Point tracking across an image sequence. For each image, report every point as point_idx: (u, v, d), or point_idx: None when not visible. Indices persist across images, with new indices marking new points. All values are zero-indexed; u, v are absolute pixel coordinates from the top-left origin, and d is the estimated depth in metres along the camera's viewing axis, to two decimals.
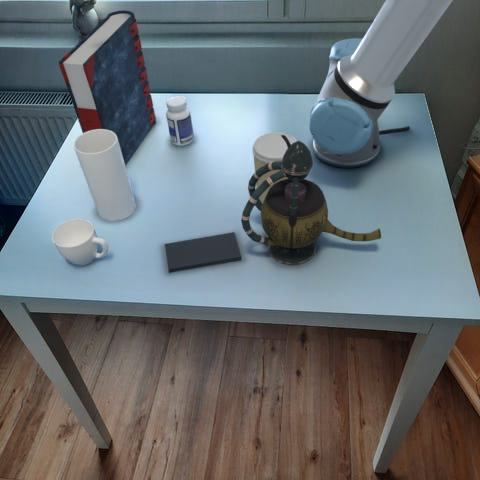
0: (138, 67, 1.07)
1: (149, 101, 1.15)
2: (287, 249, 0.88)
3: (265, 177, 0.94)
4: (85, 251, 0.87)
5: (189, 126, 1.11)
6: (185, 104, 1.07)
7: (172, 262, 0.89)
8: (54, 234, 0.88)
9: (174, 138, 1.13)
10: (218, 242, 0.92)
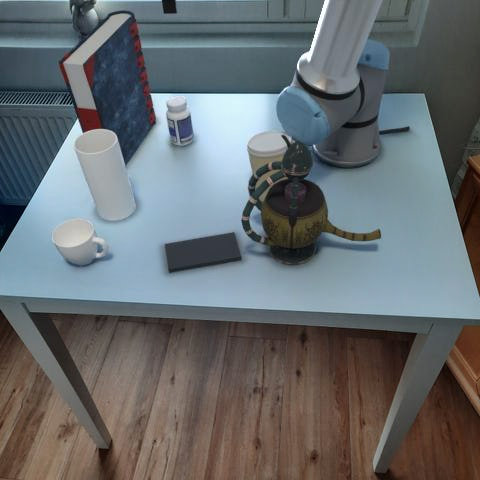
0: (138, 67, 1.07)
1: (149, 101, 1.15)
2: (287, 249, 0.88)
3: None
4: (85, 251, 0.87)
5: (189, 126, 1.11)
6: (185, 104, 1.07)
7: (172, 262, 0.89)
8: (54, 234, 0.88)
9: (174, 138, 1.13)
10: (218, 242, 0.92)
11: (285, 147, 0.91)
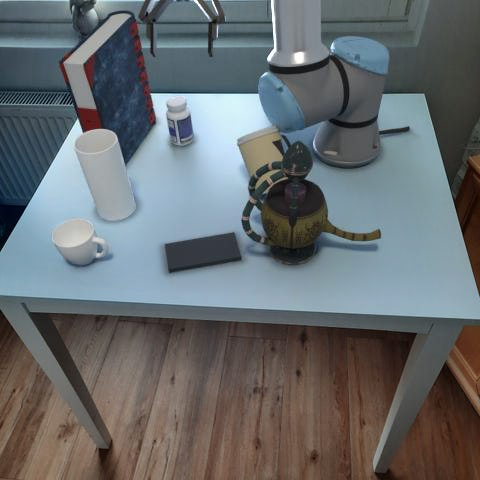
0: (138, 67, 1.07)
1: (149, 101, 1.15)
2: (287, 249, 0.88)
3: (248, 160, 0.96)
4: (85, 251, 0.87)
5: (189, 126, 1.11)
6: (185, 104, 1.07)
7: (172, 262, 0.89)
8: (54, 234, 0.88)
9: (174, 138, 1.13)
10: (218, 242, 0.92)
11: (265, 129, 0.93)
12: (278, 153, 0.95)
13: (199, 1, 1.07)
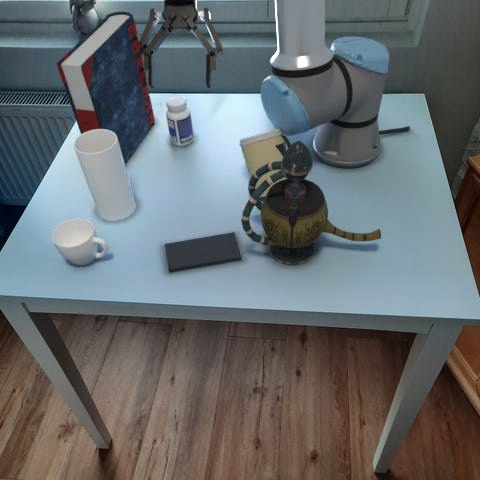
0: (137, 68, 1.07)
1: (148, 102, 1.15)
2: (287, 249, 0.88)
3: (250, 162, 0.96)
4: (85, 251, 0.87)
5: (189, 126, 1.11)
6: (185, 104, 1.07)
7: (172, 262, 0.89)
8: (54, 234, 0.88)
9: (174, 138, 1.13)
10: (218, 242, 0.92)
11: (269, 133, 0.92)
12: (281, 157, 0.95)
13: (197, 34, 1.08)
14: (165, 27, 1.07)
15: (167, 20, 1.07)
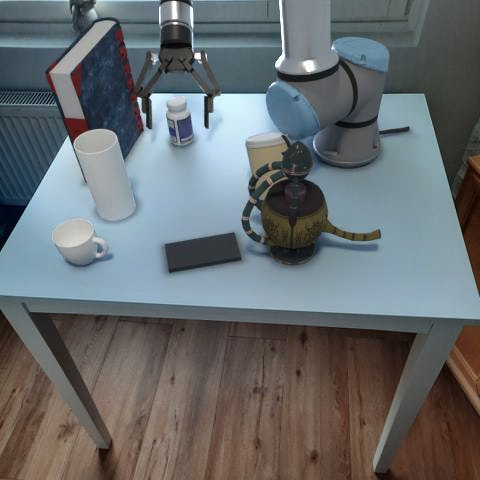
0: (124, 74, 1.05)
1: (136, 108, 1.13)
2: (287, 249, 0.88)
3: (254, 166, 0.95)
4: (85, 251, 0.87)
5: (189, 126, 1.11)
6: (185, 104, 1.07)
7: (172, 262, 0.89)
8: (54, 234, 0.88)
9: (174, 138, 1.13)
10: (218, 242, 0.92)
11: (276, 139, 0.91)
12: None
13: (194, 76, 1.07)
14: (162, 70, 1.07)
15: (164, 63, 1.07)
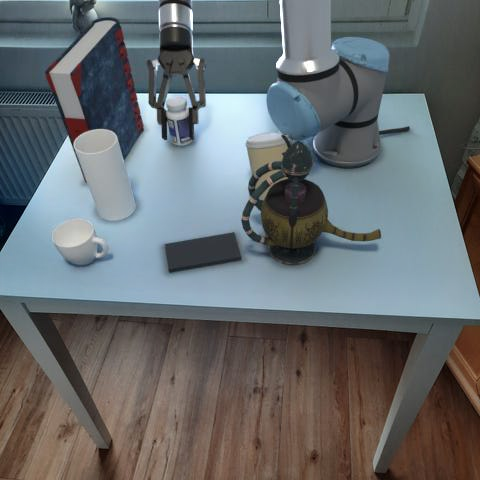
0: (124, 74, 1.05)
1: (136, 108, 1.13)
2: (287, 249, 0.88)
3: (254, 166, 0.95)
4: (85, 251, 0.87)
5: None
6: (185, 104, 1.07)
7: (172, 262, 0.89)
8: (54, 234, 0.88)
9: (174, 138, 1.13)
10: (218, 242, 0.92)
11: (277, 140, 0.91)
12: None
13: (186, 82, 1.07)
14: (167, 74, 1.07)
15: (166, 67, 1.07)
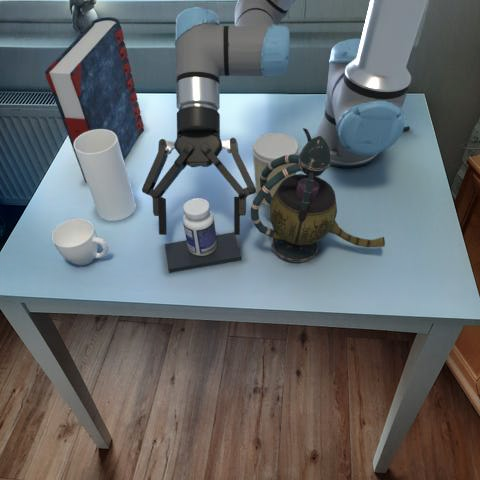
0: (124, 74, 1.05)
1: (136, 108, 1.13)
2: (290, 245, 0.88)
3: None
4: (85, 251, 0.87)
5: (212, 235, 0.87)
6: (208, 211, 0.83)
7: (172, 262, 0.89)
8: (54, 234, 0.88)
9: (192, 248, 0.88)
10: (218, 242, 0.92)
11: None
12: (294, 173, 0.95)
13: (221, 170, 0.82)
14: (179, 163, 0.82)
15: (182, 154, 0.82)
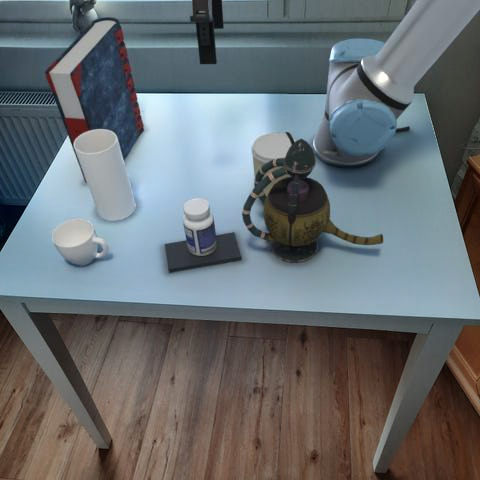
0: (124, 74, 1.05)
1: (136, 108, 1.13)
2: (288, 246, 0.89)
3: (264, 177, 0.94)
4: (85, 251, 0.87)
5: (212, 235, 0.87)
6: (208, 211, 0.83)
7: (172, 262, 0.89)
8: (54, 234, 0.88)
9: (192, 248, 0.88)
10: (218, 242, 0.92)
11: None
12: None
13: None
14: None
15: None
